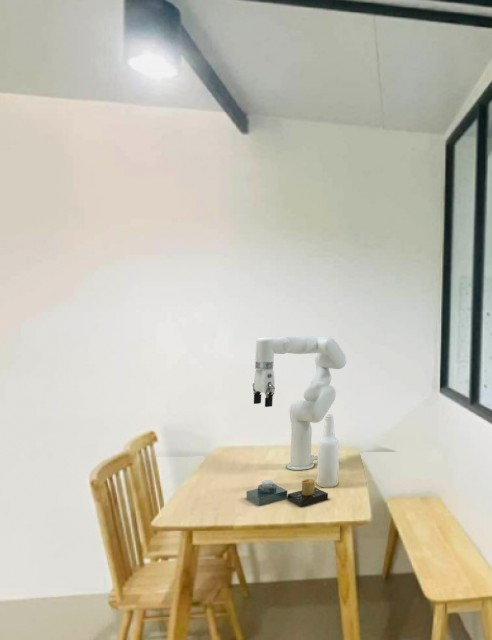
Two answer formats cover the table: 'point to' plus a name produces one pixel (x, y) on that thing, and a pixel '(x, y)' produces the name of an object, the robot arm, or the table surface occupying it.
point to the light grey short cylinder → (267, 484)
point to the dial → (308, 487)
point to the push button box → (266, 494)
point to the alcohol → (328, 455)
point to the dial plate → (307, 497)
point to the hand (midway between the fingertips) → (262, 405)
